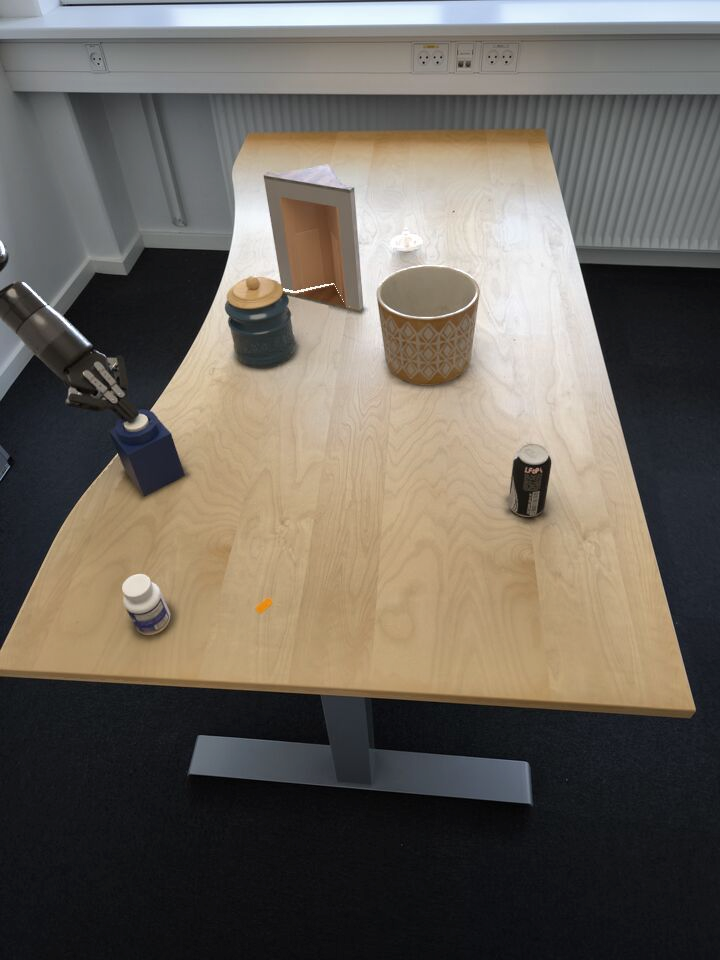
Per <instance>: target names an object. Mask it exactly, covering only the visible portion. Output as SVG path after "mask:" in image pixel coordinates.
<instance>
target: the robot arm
mask: <svg viewBox="0 0 720 960" xmlns="http://www.w3.org/2000/svg"><path fill="white" fill-rule="evenodd" d="M9 259H10V255H9V249H8V247H7V245H6V243H4V241H3V240H2V239H1V238H0V273H1V272H2V271H3V270H4V269H5V267H7V265H8V263H9ZM0 320H1V321H2V322H3V323H4V324H5V325H6V326H7V327H8V328H9V329H10V330H11V331H12V332H14V334H15V335H16V336H17V337H19V339H20V340H21V341H22V343H23V344H24V345H25V346H26V347H27V348H28V349H29V351H31V353H32V354H33V355H34V356H36V357H37V358H38V359H39V360H40V361H41V362H42V363H43V364H44V365H45V366H46V367H47V368H49V370H50V371H51V372H53V373H54V374H55V376H57V377H58V378H60V379H61V380H62V381H63V383H64V386H65V388H66V389H68V390H67V398H65V401H64V403H65V405H66V406H67V407H72V408H76V409H82V410H87V411H92V412H96V413H102V412H103V411H105V410H111V411H112V412H113V413H114V414H115V415H116V416H117V417H118V418H119V419H120V418H121V419H122V420H123V421H124V422H129V423H131V422H132V421H133V420H134V419H136V418H137V417H138V415H139V413H138V412H137V411H138V410H139V409H138V407H137V406H136V405H135V404H134V403H133V402H132V401H131V400H130V399H129V398H128V397H127V396H126V392H127V390H128V388H129V386H130V385H129V379H128V374H127V369H126V368H127V367H126V364H125V359H124V356H122V355H117V356H116V357H107V356H106V355H105V354H104V353H101V352H99V351H97V350H96V348H95V347H94V345H93V344H92V343H91V341H90V340H88V339H87V338H86V337H85V336H84V335H83V334H82V333H81V332H80V331H79V330H78V328H76V327H75V326H74V325H73V324H72V323H71V322H70V321H69V320H68V319H67V318H66V317H65V316H64V315H63V314H62V313H60V312H59V311H58V310H56V309H55V308H54V307H53V306H52V305H51V304H49V303H48V302H47V301H46V300H45V299H44V298H43V296H41V294H39V293H38V292H37V291H36V290H35V289H34V288H33V287H32V286H31V284H29V283H27V282H26V281H24V280H15V281H13V282H11V283H9V284H8V285H6V286H4V287H2V288H1V289H0ZM111 372H113V375H114V377H113V376H112V375H111ZM83 394H85V395H83ZM88 395H90V396H88Z"/></svg>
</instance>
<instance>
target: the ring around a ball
mask: <svg viewBox="0 0 720 960" xmlns="http://www.w3.org/2000/svg"><path fill="white" fill-rule="evenodd" d="M408 230H409V229H408V228H407V227H404V228H403V231H402V232H401V235H397V236H395V237H393V238H392V239H391V240H390V243H389V245H390V247H391V248H392V249H393V250H395V251H397V252H403V253H405V252H412V251H415V250H418V249H419V248H421V247H422V245H423V239H422V238H421V237H420V236H418V235H415V234H411V232H410V231H408ZM396 241H397V242H396ZM395 243H397V245H396V244H395Z"/></svg>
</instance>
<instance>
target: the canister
mask: <svg viewBox="0 0 720 960" xmlns="http://www.w3.org/2000/svg"><path fill="white" fill-rule="evenodd" d="M289 302H290V299H289V296H288V295H287V294H286V293H285V292H284V291H283V288H282V286H281V282H279V281H277V280H275V279H271V278H268V277H265V276H255V275H250V276H248V277H247V278H243V279H242V280H239V281H238V282H237V283H235V284H234V285H233V286H232V287H230V289H228V291H227V294H226V302H225V303H224V311H225V314H227V316H228V320H227V324H228V327H229V329H230V334H231V337H232V342H233V350H234V354H235V356H236V357H237V358H236V359H238V361H239V362H240V363H241V364H242V365H244V366H246V367H249V368H253V369H267V368H268V369H269V368H273V367H277V366H279V365H281V364H284V363H285V362H286V361H288V360H289V359H291V358H292V356H293V355H294V353H295V350H296V336H295V334H294V330H293V323H292V312H291V309H290V308H289V307H288V305H289Z"/></svg>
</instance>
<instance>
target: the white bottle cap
mask: <svg viewBox="0 0 720 960" xmlns="http://www.w3.org/2000/svg"><path fill="white" fill-rule="evenodd" d="M148 425H149V421H148V418H147V416H145V415H143V414H139V415H138V417H137V418H136V419H134V420H133V421H132V422H131V423H129V422H124V427H125V429H126V431H129V432H136V431H140V430H142V429H144V428H146V427H147V426H148Z"/></svg>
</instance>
